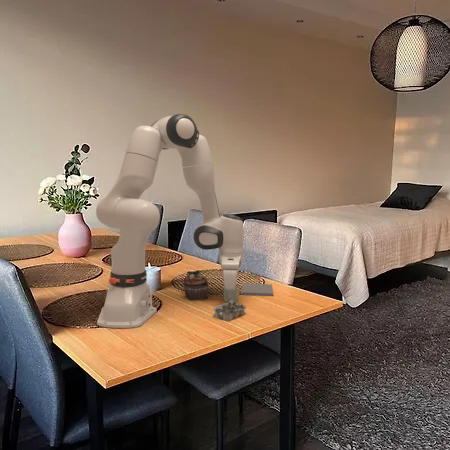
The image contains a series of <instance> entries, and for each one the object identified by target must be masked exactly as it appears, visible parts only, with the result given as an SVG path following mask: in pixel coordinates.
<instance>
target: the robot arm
mask: <svg viewBox="0 0 450 450" xmlns="http://www.w3.org/2000/svg"><path fill="white" fill-rule="evenodd" d="M170 149H172V150H173V149H176V150H177V151H178V153H179V155H180V157H181V167H182V173H183V177H184V179H185V183H186V186H188V188H190V190H192V191H193V192H194V193H195V194H196V195H197V197H198V200H199V203H200V207H201V213H202V216H203V217H202V218H203V220H202V224H200V225H199V226H198V227H197V228H196V229H195V230H194V232H193V242H194V244H195V246H197V247H198V248H199V249H201V250H204V251H205V250H207V251H208V250H215V249H219V250H218V251H219V252H218V253H219V257H218V258H219V259H218V261H219V264H220V267H221V268H220V269H222V275H223V279H222V280H223V289H224V288H225V290H227V291H228V298H233V290H235V286H236V284H237V277H238V272H239V269H240V268H241V266H242V265H243V264H244V247H243V243H244V241H245V237H244V236H245V234H244V233H245V232H244V223H243V219H242V218H241V217H240V216H237V215H235V214H231V213H227V214H226V213H225V214H222V215H220V211H219V207H218V201H217V195H216V188H215V187H216V186H215V172H214V171H215V170H214V164H213V156H212V151H211V148H210V145H209V143H208V140H207V138H206V137H205V136H204V135H201V134H200V131H199V129H198V128H197V125H196V123H195V120H193V118H192V117H191V116H189V115H187V114H184V113H176V114H173V115H167V116H164V117H163V118H161V119H159V120H156V121H154V122H153V124H151V125H139V126H137V127H136V128H135V129H134V130H133V132H132V135H131V137H130V139H129V142H128V144H127V148H126V150H125V154H124V159H123V161H122V166H121V168H120V172H119V174H118V177H117V179H116V181H115V184H114V185H113V187H112V188H111V190H110V191H109V192H108V193H107V195H106V196H105V197H103V198H102V199H101V200H99V202H98V204H97V205H96V209H95V214H96V218H97V220H98V221H99V222H100V223H101V224H103V225H104V226H107V228H110V229H115V230H119V232H120V233H119V238H118V240H117V242H116V244H114V245H113V247H112V248H111V250H110V255H111V256H110V257H111V258H110V259H111V271H110V275H109V278H108V284H109V285H108V286H107V287H108V289H107V292H106V297H105V300H104V305H103V306H102V308H101V309H100V310H101V311H100V313H99V316H98V319H97V321H96V325H97V326H99V327H102V328H103V327H104V328H110V329H111V328H115V329H130V328H131V329H133V328H137V327H140V326H141V325H143V324H145V322H147V321H148V320H149V319H150V318H152V317H153V316H154V315H155V314H156V313H157V312H158V310H157V307H155V306H153V295H152V287H151V286H150V285H149V284H148V282H147V276H148V274H147V270H146V248H147V243H148V240H149V238H150V235H151V233H152V232H154V231H155V229H157V227H158V225H159V224H160V218H161V215H160V211H159V207H157V205H155V204H154V203H153V202H151V201H148V200H146V199H143V198H141V197H142V194H143V193H144V192H145V191H147V190H148V189H150V188H151V186H152V185H153V183H154V179H155V175H156V171H157V169H158V168H157V167H158V163H159V159H160V156H161V155H160V154H161V152H162V150H170Z"/></svg>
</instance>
